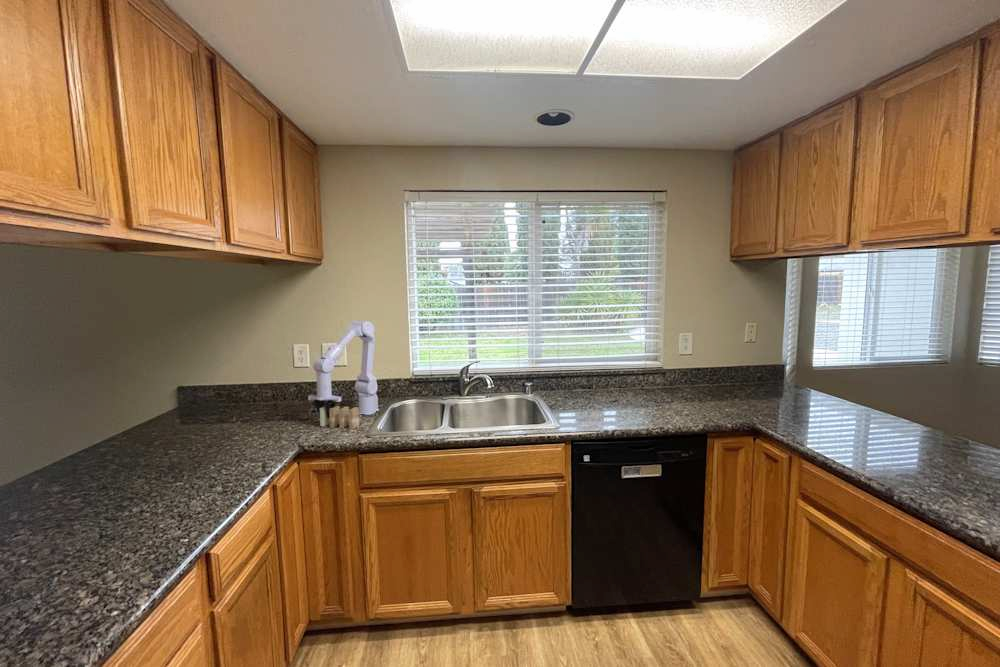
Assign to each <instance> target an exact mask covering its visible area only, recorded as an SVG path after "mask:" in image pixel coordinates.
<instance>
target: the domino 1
mask: <svg viewBox="0 0 1000 667" xmlns="http://www.w3.org/2000/svg"><path fill="white" fill-rule="evenodd" d="M319 422H320V423H319V424H320V426H323V427H322V428H325V427H326V425H327V426H328V425H330V424H329V423H330V418H327V412H326V407H325V405H324V407H322V408H320V417H319ZM324 426H325V427H324Z"/></svg>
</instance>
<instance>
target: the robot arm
mask: <svg viewBox="0 0 1000 667" xmlns="http://www.w3.org/2000/svg"><path fill="white" fill-rule="evenodd" d="M358 337H359V339H360V340H361V341H362V349H361V350H362V352H361V366H360V374H359V375H358V376H357V377H356V381H355V384H354V390H355V391H356V392H357V395H358V408H359V415H361V414H365V416H371V414H372V415H373V414H375V413H376V411H377V412H378V411H380V410H379V409H380V408H379V397H378V395H377V392H378V386H379V385H378V383H377V380H378V379H377V377H376V376H375V375H374V365H375V364H374V361H375V351H376V350H375V349H376V348H375V346H376V335H375V325H374V324H373V323H372V322H371V321H362V320H361V321H360V320H359V321H358V320H353V321H351V322H350V324H349V325H348V326H347V329H346V331H345V332H344V334H343V335H342V336H341V337H340V338H339V340H338V341H337V343H336V344H332V345H330V346H328V349H327V350H326V352H325V353H324V354H322V355H321V357H320V358H317V359H316V360H315V362H314V364H313V365H312V367H313V370H314V371H315V375H316V390H317V391H316V394H310V395H308V396H307V398H308V401H313V403H312V404H313V405H312V406H314V408H315V409H316V411H317V414H318V417H319V418H320V408H322V407H324V406H325V407H326V412H327V418H330V412H329V409H331V408H333V407H335V406H336V404H337V403H340V402H342V396H339V395H333V394H332V391H333V389H332V372H331V371H333V370H334V368H335V364H336V362H337V360H339V359H340V357H341V356H342V355H343V351H344V350H343V349H345V347H346V346H347V345H348V344H350V342H351V341H352V340H353V339H354V338H358Z"/></svg>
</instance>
